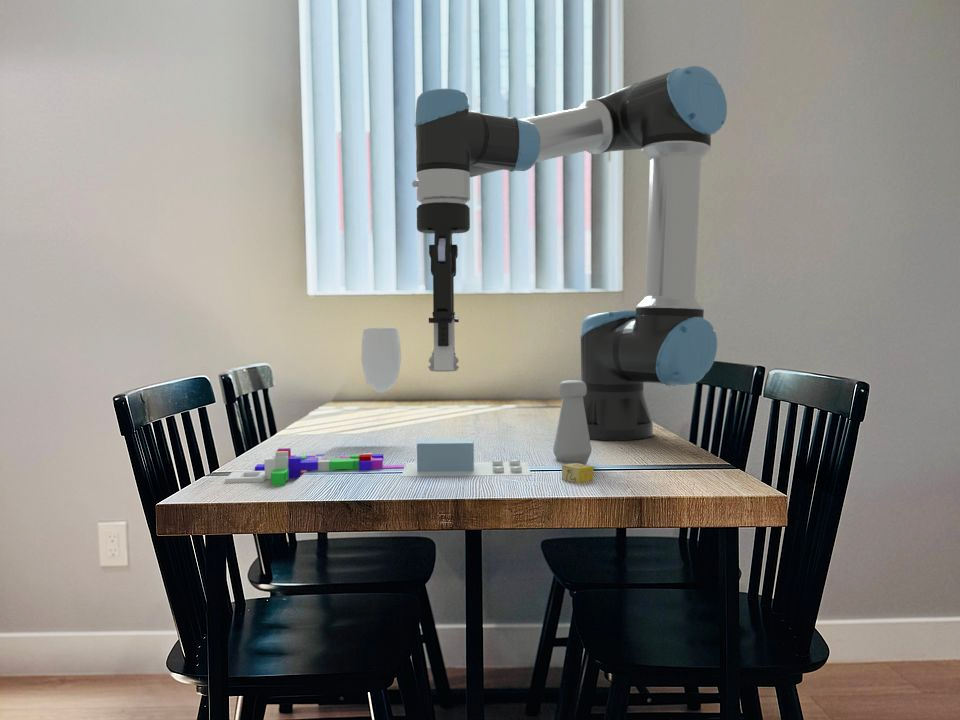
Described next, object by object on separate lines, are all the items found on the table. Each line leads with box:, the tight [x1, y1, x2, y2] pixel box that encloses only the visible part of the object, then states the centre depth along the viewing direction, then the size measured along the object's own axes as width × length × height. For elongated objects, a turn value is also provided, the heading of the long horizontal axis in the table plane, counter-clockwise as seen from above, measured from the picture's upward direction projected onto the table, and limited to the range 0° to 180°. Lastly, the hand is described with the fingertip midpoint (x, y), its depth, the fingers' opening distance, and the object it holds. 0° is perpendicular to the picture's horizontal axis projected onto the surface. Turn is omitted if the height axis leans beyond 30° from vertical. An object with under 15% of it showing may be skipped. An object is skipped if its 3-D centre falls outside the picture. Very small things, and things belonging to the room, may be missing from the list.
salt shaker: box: [552, 379, 592, 465], centre depth 122 cm, size 6×6×13 cm
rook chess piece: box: [427, 319, 460, 373], centre depth 114 cm, size 4×4×8 cm
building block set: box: [225, 447, 405, 487], centre depth 121 cm, size 25×20×4 cm
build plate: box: [400, 459, 532, 477], centre depth 116 cm, size 18×10×2 cm, turn 90°
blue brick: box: [416, 438, 475, 472], centre depth 115 cm, size 8×4×4 cm, turn 90°
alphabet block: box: [561, 462, 594, 484], centre depth 108 cm, size 3×3×3 cm
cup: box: [361, 327, 402, 394], centre depth 146 cm, size 7×7×21 cm
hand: (444, 368), depth 115 cm, fingers closed on rook chess piece, 4 cm apart
